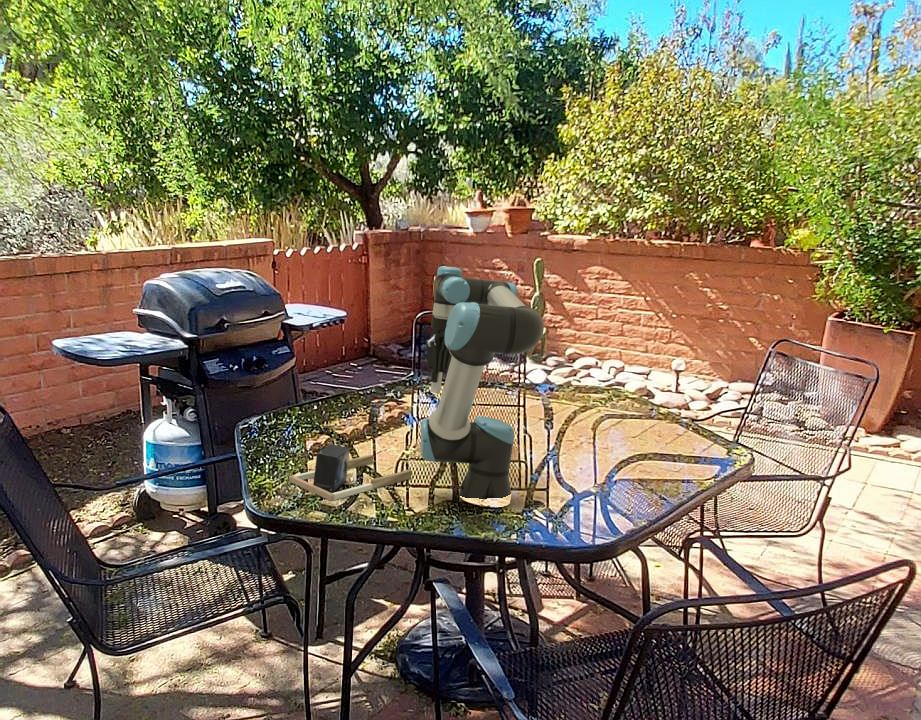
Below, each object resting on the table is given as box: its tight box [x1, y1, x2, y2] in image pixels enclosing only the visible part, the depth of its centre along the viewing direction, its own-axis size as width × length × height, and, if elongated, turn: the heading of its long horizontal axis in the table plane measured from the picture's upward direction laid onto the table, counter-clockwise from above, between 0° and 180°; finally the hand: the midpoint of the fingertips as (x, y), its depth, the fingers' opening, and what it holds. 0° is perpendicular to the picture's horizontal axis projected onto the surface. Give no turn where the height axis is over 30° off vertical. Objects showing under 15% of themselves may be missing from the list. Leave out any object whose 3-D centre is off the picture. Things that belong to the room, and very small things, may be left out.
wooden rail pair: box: [347, 454, 413, 490], centre depth 222 cm, size 17×16×2 cm
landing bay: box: [288, 470, 374, 502], centre depth 209 cm, size 17×16×2 cm
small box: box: [313, 443, 350, 493], centre depth 209 cm, size 11×6×10 cm, turn 169°
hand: (435, 392), depth 232 cm, fingers closed
